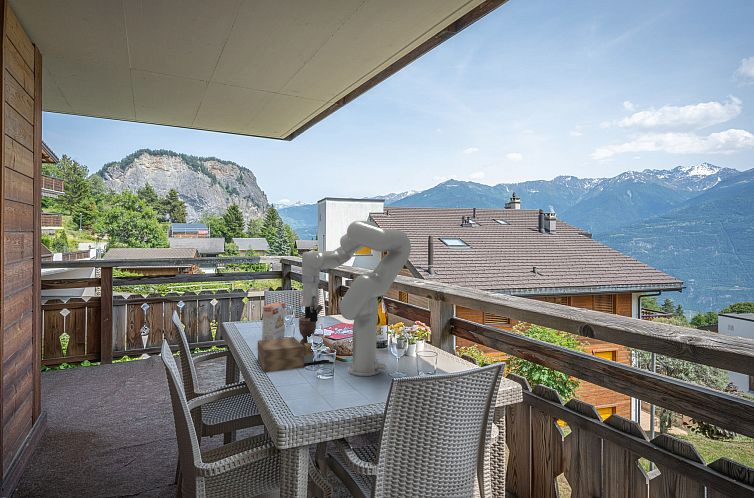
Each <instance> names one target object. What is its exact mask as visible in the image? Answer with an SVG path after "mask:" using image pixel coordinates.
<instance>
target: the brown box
mask: <svg viewBox="0 0 754 498" xmlns="http://www.w3.org/2000/svg"><path fill="white" fill-rule="evenodd" d="M257 362H258V364H259V366H260V367H261V369H262V371H263V373H270V372H279V371H287V370H295V369H304V368H305V363H304V346H303V345H302V344H301V343H300V341H299V340H298V339H297V338H296V337H294V336H292V337H284V338H280V339H269V340H262V339H261V340H257Z"/></svg>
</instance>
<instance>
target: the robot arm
mask: <svg viewBox="0 0 754 498" xmlns="http://www.w3.org/2000/svg"><path fill="white" fill-rule="evenodd" d="M339 245H340V246H339V247H338V248H336V249H334V250H325V251H324V250H323V251H322V250H321V251H304V252H302V255H301V282H302V284H303V285H302V305H304V317H305V318H310V322H316V323H317V322H318V321H319V319H318V315H319V314H318V310H317V309H318V307H317V306H318V305H319V285H318V284H320V278H321V275H320V274H321V273H320V270H326V269H336V268H339V267H341V266H342V265H344V264H346V263H348V262H349V261H350V260H351V259H352V258H353V256H354V255H355V254H356V253H357V252H359V251H360V250H362V249H364V248H367V249H369V250H372V251H375V252H382V253H383V252H387V253H386V254H385V255H384V256H383V257H382V259H381V260H380V261H379V262H378V264H377V266H376V267H375V268H374V270H373V271H371V272H367V273H366V272H365V273H362V274H359V275H358V276H356V278H355V279H354V280H353V281H352V283H351V285H350V286H349V287H348V289H347V291H346V292H345V294H344V295H343V297H342V299H341V300H340V302H339V303H340V305H339V311H340V315H341V316H342V317H343V318H344V319H345V320H348V321H353V324H352V366H350V367H349V368H348V373H349V374H350V375H353V376H357V377H371V376H375V375H378V374H379V373H380V372H381V370H383V371H386V370H387V368H388V367H387V364H386V363H383V362H379V359H377V324H378V322H377V321H378V314H379V307H380V304H379V300H378V297H381V296H384V295H385V294H387V292H388V290H389V289H390V287H391V285H393V283H394V281H395V280H396V279H397V277H398V275H399V274H400V272H401V271H402V269H403V268H404V266H406V263H407V262H408V260H409V257H410V255H411V251H412V249H411V248H412V245H411V240H410V238H409V236H408V234H407V233H406V232H405V231H403V230H401V229H398V228H397V229H396V228H381V227H379V226H378V225H377V224H376V223H375V222H374V221H368V220H355V221H353V222H351V223H350V224H349V225H348V227H347V229H346V233H345V234H344V235H342V236H341V238H340V239H339Z"/></svg>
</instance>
